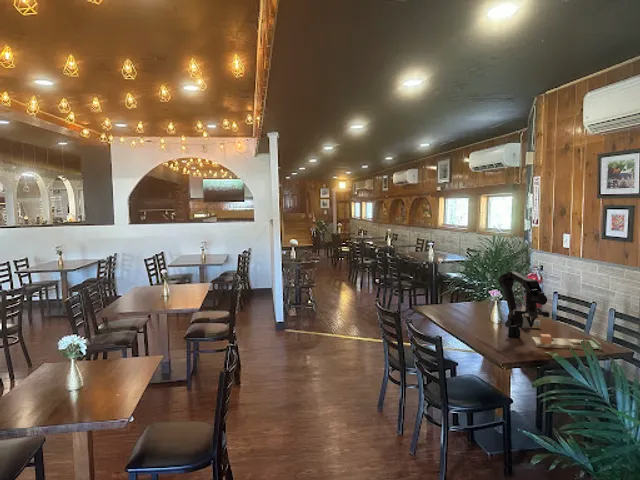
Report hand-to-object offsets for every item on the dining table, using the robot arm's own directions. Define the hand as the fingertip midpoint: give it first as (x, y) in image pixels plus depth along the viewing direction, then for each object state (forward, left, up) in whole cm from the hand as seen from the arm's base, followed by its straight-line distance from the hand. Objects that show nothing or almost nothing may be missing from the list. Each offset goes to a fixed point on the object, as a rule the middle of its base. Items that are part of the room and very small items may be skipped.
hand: (530, 327), depth 251 cm
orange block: (+8, 0, -8) cm, 12 cm away
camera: (+7, +39, -11) cm, 41 cm away
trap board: (+19, +3, -10) cm, 22 cm away
